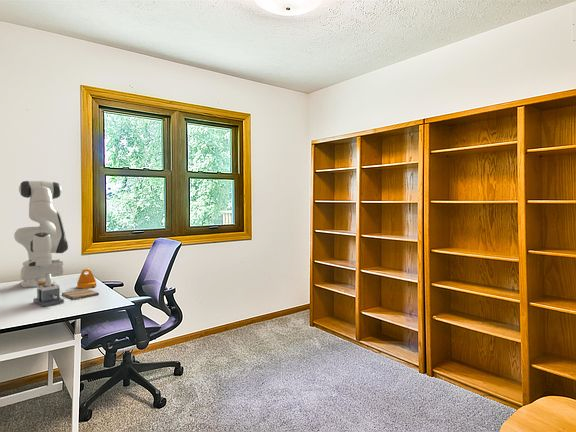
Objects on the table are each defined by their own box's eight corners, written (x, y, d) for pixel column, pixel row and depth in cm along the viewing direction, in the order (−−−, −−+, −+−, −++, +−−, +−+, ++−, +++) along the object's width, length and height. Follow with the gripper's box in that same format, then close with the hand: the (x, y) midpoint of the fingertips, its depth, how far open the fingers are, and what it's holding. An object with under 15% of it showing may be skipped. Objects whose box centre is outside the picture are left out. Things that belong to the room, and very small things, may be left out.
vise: (33, 302, 197) (32, 273, 196) (53, 298, 205) (53, 271, 204) (45, 308, 187) (44, 278, 186) (66, 303, 195) (65, 275, 194)
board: (62, 295, 212) (62, 293, 212) (86, 290, 223) (86, 288, 223) (73, 299, 203) (73, 297, 203) (98, 294, 214) (98, 292, 214)
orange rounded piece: (77, 289, 226) (77, 270, 225) (77, 286, 232) (77, 268, 232) (96, 287, 232) (96, 269, 231) (95, 285, 238) (95, 267, 237)
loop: (32, 286, 200) (32, 282, 200) (48, 284, 206) (48, 279, 206) (42, 291, 191) (42, 286, 191) (59, 288, 197) (59, 283, 197)
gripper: (60, 258, 211) (60, 281, 211) (19, 263, 194) (19, 287, 195) (64, 259, 207) (65, 283, 208) (23, 264, 191) (23, 289, 191)
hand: (42, 285), depth 201 cm, fingers closed on loop, 2 cm apart
